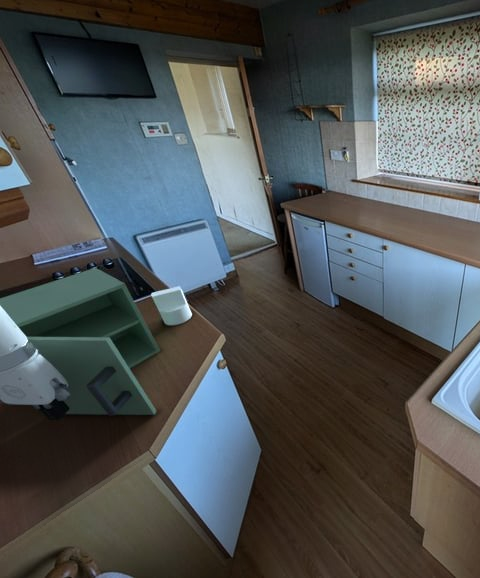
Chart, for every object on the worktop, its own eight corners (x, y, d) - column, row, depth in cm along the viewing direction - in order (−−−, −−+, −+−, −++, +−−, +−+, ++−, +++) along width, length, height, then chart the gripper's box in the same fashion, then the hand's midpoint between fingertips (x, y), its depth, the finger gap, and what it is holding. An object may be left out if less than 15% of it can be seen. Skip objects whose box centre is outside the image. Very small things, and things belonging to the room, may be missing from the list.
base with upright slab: (164, 328, 105) (150, 301, 99) (164, 315, 112) (151, 289, 105) (192, 320, 110) (181, 293, 103) (190, 308, 116) (180, 282, 110)
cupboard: (160, 351, 96) (124, 283, 82) (55, 411, 77) (-16, 336, 63) (132, 332, 103) (95, 267, 90) (30, 383, 84) (-37, 310, 70)
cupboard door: (138, 436, 71) (82, 360, 57) (31, 435, 71) (-51, 359, 57) (156, 411, 77) (109, 337, 63) (57, 410, 77) (-12, 336, 63)
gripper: (-59, 370, 53) (8, 430, 63) (23, 371, 53) (78, 431, 63) (-11, 342, 59) (43, 400, 69) (62, 343, 59) (107, 401, 69)
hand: (60, 414), depth 66 cm, fingers closed
